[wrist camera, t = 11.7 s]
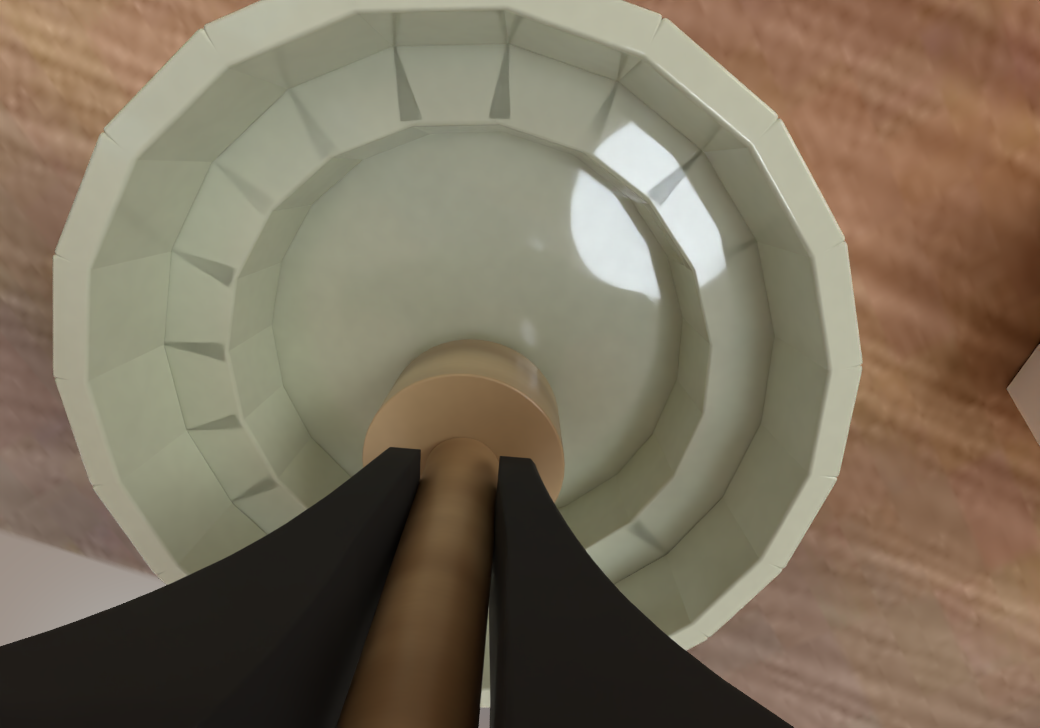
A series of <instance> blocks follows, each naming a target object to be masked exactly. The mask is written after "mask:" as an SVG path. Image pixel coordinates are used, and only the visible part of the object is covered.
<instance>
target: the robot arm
mask: <svg viewBox="0 0 1040 728" xmlns="http://www.w3.org/2000/svg"><path fill="white" fill-rule="evenodd" d="M420 461H421V449H410V448H398V447H389V448H388V449H387V450H385V451H384V452H383V453H381V454H380V455H379V456H377V457H376V458H375V459H374V460H372V461H371V462H370V463H369V464H367V465H366V466H365V467H364V468H362V469H361V470H360V471H359V472H357V473H356V474H355V475H353V476H352V477H351V478H350V479H348V480H347V481H346V482H344V483H343V484H342V485H340V486H339V487H338V488H336V489H335V490H334V491H332V492H331V493H330V494H329V495H327V496H326V497H324V498H323V499H321V500H320V501H318V502H317V503H315V504H314V505H313V506H311V507H310V508H308V509H307V510H305V511H304V512H302V513H301V514H299V515H298V516H296V517H295V518H293V519H292V520H290V521H289V522H287V523H286V524H284V525H283V526H281V527H279V528H278V529H276V530H274V531H273V532H271V533H269V534H268V535H266V536H264V537H263V538H261V539H259V540H257V541H255V542H254V543H252V544H250V545H248V546H246V547H244V548H243V549H241V550H239V551H237V552H235V553H234V554H232V555H230V556H228V557H226V558H224V559H222V560H220V561H218V562H216V563H213V564H211V565H209V566H207V567H205V568H203V569H201V570H198V571H196V572H194V573H192V574H190V575H188V576H186V577H183V578H181V579H179V580H177V581H175V582H173V583H171V584H169V585H166V586H164V587H162V588H160V589H157V590H155V591H153V592H150V593H148V594H146V595H143V596H141V597H138V598H136V599H133V600H131V601H128V602H126V603H123V604H121V605H118V606H116V607H113V608H110V609H108V610H105V611H102V612H100V613H97V614H94V615H92V616H89V617H86V618H84V619H81V620H78V621H76V622H73V623H70V624H67V625H64V626H62V627H59V628H56V629H53V630H50V631H47V632H44V633H41V634H38V635H35V636H31V637H28V638H25V639H22V640H19V641H16V642H13V643H10V644H6V645H3V646H0V728H336V725H337V722H338V719H339V717H340V714H341V711H342V708H343V705H344V702H345V699H346V696H347V693H348V690H349V687H350V684H351V681H352V678H353V675H354V673H355V670H356V667H357V664H358V661H359V658H360V655H361V652H362V649H363V646H364V643H365V640H366V637H367V634H368V632H369V629H370V626H371V623H372V620H373V617H374V614H375V611H376V608H377V605H378V602H379V599H380V596H381V593H382V590H383V588H384V585H385V582H386V579H387V576H388V573H389V570H390V567H391V564H392V561H393V558H394V555H395V552H396V549H397V546H398V544H399V541H400V538H401V535H402V532H403V529H404V526H405V523H406V520H407V518H408V515H409V512H410V509H411V506H412V503H413V500H414V497H415V494H416V491H417V489H418V486H419V483H420ZM489 657H490V728H794V727H793V726H791V725H790V724H788V723H787V722H785V721H784V720H782V719H781V718H779V717H778V716H777V715H775V714H774V713H772V712H771V711H769V710H768V709H766V708H765V707H763V706H762V705H760V704H759V703H757V702H756V701H754V700H753V699H751V698H750V697H748V696H747V695H746V694H744V693H743V692H741V691H740V690H738V689H737V688H735V687H734V686H732V685H731V684H729V683H728V682H726V681H725V680H723V679H722V678H721V677H719V676H718V675H717V674H715V673H714V672H713V671H711V670H710V669H709V668H708V667H706V666H705V665H704V664H702V663H701V662H700V661H699V660H697V659H696V658H695V657H693V656H692V655H691V654H690V653H688V652H687V651H686V650H684V649H683V648H682V647H681V646H679V645H678V644H677V643H676V642H675V641H674V640H672V639H671V638H670V637H669V636H668V635H666V634H665V633H664V632H663V631H662V630H661V629H659V628H658V627H657V626H656V625H655V624H654V623H653V622H652V621H651V620H650V619H649V618H648V617H646V616H645V615H644V614H643V613H642V612H641V611H640V610H639V609H638V608H637V607H636V606H635V605H634V604H632V603H631V602H630V601H629V600H628V599H627V598H626V597H625V596H624V595H623V594H622V593H621V592H620V591H619V589H618V588H617V587H616V586H615V585H614V584H613V583H612V582H611V580H610V579H609V578H608V577H607V576H606V575H605V574H604V573H603V571H602V570H601V569H600V568H599V566H598V565H597V564H596V563H595V562H594V560H593V559H592V558H591V556H590V555H589V554H588V553H587V551H586V550H585V549H584V547H583V546H582V544H581V543H580V542H579V540H578V539H577V538H576V536H575V535H574V533H573V532H572V530H571V529H570V527H569V526H568V524H567V523H566V521H565V520H564V518H563V516H562V515H561V513H560V512H559V510H558V508H557V507H556V505H555V503H554V502H553V500H552V498H551V496H550V495H549V493H548V491H547V489H546V487H545V485H544V483H543V481H542V479H541V477H540V475H539V472H538V470H537V468H536V465H535V463H534V462H533V461H532V460H531V458H521V457H509V456H500V458H499V469H498V481H497V493H496V504H495V516H494V550H493V561H492V573H491V585H490V597H489Z"/></svg>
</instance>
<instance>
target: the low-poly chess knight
mask: <svg viewBox="0 0 1040 728" xmlns="http://www.w3.org/2000/svg"><path fill="white" fill-rule="evenodd" d="M1007 391H1008V392H1009V394H1010V396H1011V398H1012V399H1013V401H1014V403H1015V405H1016V406H1017V408H1018V410H1019V411H1020V413H1021V415H1022V417H1023V418H1024V420H1025V422H1026V424H1027V425H1028V427H1029V429H1030V430H1031V432H1032V434H1033V436H1034V437H1035V439H1036V441H1037V443H1038V444H1039V446H1040V344H1039V345H1038V346H1037V348H1036V349H1035V350H1034V352H1033V353H1032V355H1031V356H1030V357H1029V359H1028V360H1027V361H1026V363H1025V364H1024V366H1023V367H1022V368H1021V370H1020V371H1019V372H1018V374H1017V375H1016V377H1015V378H1014V379H1013V381H1012V382H1011V383H1010V385H1009V386H1008V387H1007Z"/></svg>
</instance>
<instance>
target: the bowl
mask: <svg viewBox="0 0 1040 728" xmlns="http://www.w3.org/2000/svg"><path fill="white" fill-rule="evenodd" d="M777 118H778V115H777V113H776V112H775V111H774V110H773V109H771V108H770V107H769V106H768V105H767V104H766V103H765V102H763V101H762V100H761V99H760V98H759V97H758V96H756V95H755V94H754V93H753V92H752V91H751V90H750V89H748V88H747V87H746V86H745V85H744V84H743V83H742V82H740V81H739V80H738V79H737V78H736V77H735V76H733V75H732V74H731V73H730V72H729V71H728V70H727V69H725V68H724V67H723V66H722V65H721V64H720V63H718V62H717V61H716V60H715V59H714V58H713V57H712V56H710V55H709V54H708V53H707V52H706V51H705V50H703V49H702V48H701V47H700V46H699V45H698V44H697V43H695V42H694V41H693V40H692V39H691V38H690V37H689V36H687V35H686V34H685V33H684V32H683V31H682V30H680V29H679V28H678V27H677V26H676V25H675V24H674V23H672V22H671V21H670V20H669V19H668V18H663V19H662V16H661V15H660V14H659V13H657V12H654V11H651V10H649V9H646V8H643V7H640V6H638V5H635V4H632V3H629V2H627V1H624V0H260V1H258V2H256V3H253V4H251V5H249V6H246V7H244V8H242V9H240V10H237V11H235V12H233V13H230V14H228V15H226V16H223V17H221V18H219V19H217V20H214V21H212V22H210V23H207V24H205V25H204V29H203V28H201V29H199V30H197V31H196V32H195V33H194V35H193V36H192V37H191V38H190V39H189V40H188V41H187V42H186V43H185V44H184V45H183V46H182V47H181V48H180V49H179V50H178V51H177V52H176V53H175V54H174V55H173V56H172V57H171V59H170V60H169V61H168V62H167V63H166V64H165V65H164V66H163V67H162V68H161V69H160V70H159V71H158V72H157V73H156V74H155V75H154V76H153V77H152V78H151V79H150V80H149V82H148V83H147V84H146V85H145V86H144V87H143V88H142V89H141V90H140V91H139V92H138V93H137V94H136V95H135V96H134V97H133V98H132V99H131V100H130V101H129V102H128V103H127V104H126V106H125V107H124V108H123V109H122V110H121V111H120V112H119V113H118V114H117V115H116V116H115V117H114V118H113V119H112V120H111V121H110V122H109V123H108V124H107V125H106V126H105V127H104V132H103V133H101V134H100V135H99V138H98V140H97V143H96V146H95V148H94V151H93V153H92V156H91V159H90V161H89V164H88V166H87V169H86V171H85V174H84V177H83V179H82V182H81V184H80V187H79V190H78V192H77V195H76V197H75V200H74V202H73V205H72V208H71V210H70V213H69V215H68V218H67V220H66V223H65V226H64V228H63V231H62V233H61V236H60V239H59V241H58V244H57V246H56V249H55V255H54V256H53V376H54V377H56V378H55V383H56V386H57V389H58V392H59V395H60V398H61V400H62V403H63V406H64V409H65V412H66V415H67V418H68V421H69V424H70V426H71V429H72V432H73V435H74V438H75V441H76V444H77V447H78V450H79V452H80V455H81V458H82V461H83V464H84V467H85V470H86V473H87V476H88V479H89V481H90V484H91V485H93V490H94V491H95V493H96V494H97V495H98V497H99V498H100V500H101V501H102V502H103V504H104V505H105V507H106V508H107V509H108V511H109V512H110V513H111V515H112V516H113V518H114V519H115V520H116V522H117V523H118V525H119V526H120V527H121V529H122V530H123V531H124V533H125V534H126V536H127V537H128V538H129V540H130V541H131V543H132V544H133V545H134V547H135V548H136V549H137V551H138V552H139V554H140V555H141V556H142V558H143V559H144V560H145V562H146V563H147V565H148V566H149V567H150V569H151V570H152V572H153V573H154V574H158V575H157V577H158V578H159V579H160V580H161V581H163V582H164V583H165V584H166V585H169V584H171V583H173V582H175V581H177V580H179V579H181V578H183V577H186V576H188V575H190V574H192V573H194V572H196V571H198V570H201V569H203V568H205V567H207V566H209V565H211V564H213V563H216V562H218V561H220V560H222V559H224V558H226V557H228V556H230V555H232V554H234V553H235V552H237V551H239V550H241V549H243V548H244V547H246V546H248V545H250V544H252V543H254V542H255V541H257V540H259V539H261V538H263V537H264V536H266V535H268V534H269V533H271V532H273V531H274V530H276V529H278V528H279V527H281V526H283V525H284V524H286V523H287V522H289V521H290V520H292V519H293V518H295V517H296V516H298V515H299V514H301V513H302V512H304V511H305V510H307V509H308V508H310V507H311V506H313V505H314V504H315V503H317V502H318V501H320V500H321V499H323V498H324V497H326V496H327V495H329V494H330V493H331V492H332V491H334V490H335V489H336V488H338V487H339V486H340V485H342V484H343V483H344V482H346V481H347V480H348V479H350V478H351V477H352V476H353V475H355V474H356V473H357V472H359V471H360V470H361V469H362V468H363V462H362V454H363V445H364V440H365V436H366V433H367V430H368V428H369V425H370V423H371V421H372V420H373V418H374V416H375V414H376V413H377V411H378V410H379V408H380V406H381V405H382V403H383V401H384V400H385V398H386V397H387V395H388V393H389V392H390V390H391V388H392V387H393V385H394V384H395V382H396V380H397V379H398V377H399V375H400V374H401V373H402V371H403V370H404V369H405V368H406V366H407V365H408V364H409V363H410V362H411V361H413V360H414V359H415V358H416V357H417V356H419V355H420V354H422V353H423V352H425V351H427V350H429V349H430V348H432V347H435V346H437V345H440V344H443V343H446V342H450V341H455V340H464V339H478V340H485V341H491V342H495V343H498V344H502V345H504V346H506V347H509V348H511V349H513V350H515V351H517V352H518V353H520V354H522V355H523V356H525V357H526V358H527V359H529V360H530V361H531V362H532V363H533V364H534V365H535V366H536V367H537V368H538V369H539V370H540V371H541V372H542V374H543V375H544V376H545V378H546V379H547V381H548V383H549V384H550V386H551V388H552V390H553V393H554V395H555V398H556V402H557V407H558V413H559V421H560V428H561V436H562V443H563V450H564V460H565V470H564V479H563V483H562V488H561V490H560V493H559V496H558V498H557V500H556V502H555V505H556V507H557V508H558V510H559V512H560V513H561V515H562V516H563V518H564V520H565V521H566V523H567V524H568V526H569V527H570V529H571V530H572V532H573V533H574V535H575V536H576V538H577V539H578V540H579V542H580V543H581V544H582V546H583V547H584V549H585V550H586V551H587V553H588V554H589V555H590V556H591V558H592V559H593V560H594V562H595V563H596V564H597V565H598V566H599V568H600V569H601V570H602V571H603V573H604V574H605V575H606V576H607V577H608V578H609V579H610V580H611V582H612V583H613V584H614V585H615V586H616V587H617V588H618V589H619V591H620V592H621V593H622V594H623V595H624V596H625V597H626V598H627V599H628V600H629V601H630V602H631V603H632V604H634V605H635V606H636V607H637V608H638V609H639V610H640V611H641V612H642V613H643V614H644V615H645V616H646V617H648V618H649V619H650V620H651V621H652V622H653V623H654V624H655V625H656V626H657V627H658V628H659V629H661V630H662V631H663V632H664V633H665V634H666V635H668V636H669V637H670V638H671V639H672V640H674V641H675V642H676V643H677V644H678V645H679V646H681V647H682V648H683V649H684V650H686V651H687V650H688V649H690V648H692V647H694V646H696V645H698V644H700V643H702V642H704V641H706V640H707V639H708V637H711V636H712V635H713V634H714V633H716V632H717V631H718V630H719V629H720V628H721V627H722V626H723V625H724V624H725V623H726V622H727V621H729V620H730V619H731V618H732V617H733V616H734V615H735V614H736V613H737V612H738V611H739V610H741V609H742V608H743V607H744V606H745V605H746V604H747V603H748V602H749V601H750V600H751V599H753V598H754V597H755V596H756V595H757V594H758V593H759V592H760V591H761V590H762V589H763V588H765V587H766V586H767V585H768V584H769V583H770V582H771V581H772V580H773V579H774V578H775V577H777V576H778V575H779V574H780V573H781V572H782V568H785V567H786V565H787V564H788V562H789V560H790V559H791V557H792V555H793V554H794V552H795V550H796V548H797V547H798V545H799V543H800V542H801V540H802V538H803V537H804V535H805V533H806V532H807V530H808V528H809V527H810V525H811V523H812V522H813V520H814V518H815V517H816V515H817V513H818V511H819V510H820V508H821V506H822V505H823V503H824V501H825V500H826V498H827V496H828V495H829V493H830V491H831V490H832V488H833V486H834V485H835V483H836V481H837V476H839V473H840V469H841V464H842V460H843V455H844V450H845V446H846V441H847V437H848V432H849V428H850V423H851V418H852V414H853V409H854V405H855V400H856V396H857V391H858V386H859V382H860V377H861V373H862V366H861V364H862V362H863V361H862V354H861V346H860V339H859V331H858V323H857V316H856V308H855V301H854V293H853V285H852V278H851V270H850V263H849V255H848V247H847V244H846V242H845V241H844V240H845V237H844V235H843V233H842V231H841V229H840V227H839V225H838V223H837V222H836V220H835V218H834V216H833V214H832V212H831V210H830V208H829V207H828V205H827V203H826V201H825V199H824V197H823V195H822V194H821V192H820V190H819V188H818V186H817V184H816V182H815V180H814V179H813V177H812V175H811V173H810V171H809V169H808V167H807V165H806V164H805V162H804V160H803V158H802V156H801V154H800V152H799V150H798V149H797V147H796V145H795V143H794V141H793V139H792V137H791V136H790V134H789V132H788V130H787V128H786V126H785V124H784V122H783V121H782V120H781V119H780V118H778V119H777ZM480 708H490V657H489V608H488V620H487V632H486V644H485V655H484V667H483V679H482V691H481V702H480Z"/></svg>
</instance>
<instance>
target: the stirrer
mask: <svg viewBox="0 0 1040 728" xmlns="http://www.w3.org/2000/svg"><path fill="white" fill-rule="evenodd" d="M389 447H398V448H410V449H421V461H420V483H419V486H418V489H417V491H416V494H415V497H414V500H413V503H412V506H411V509H410V512H409V515H408V518H407V520H406V523H405V526H404V529H403V532H402V535H401V538H400V541H399V544H398V546H397V549H396V552H395V555H394V558H393V561H392V564H391V567H390V570H389V573H388V576H387V579H386V582H385V585H384V588H383V590H382V593H381V596H380V599H379V602H378V605H377V608H376V611H375V614H374V617H373V620H372V623H371V626H370V629H369V632H368V634H367V637H366V640H365V643H364V646H363V649H362V652H361V655H360V658H359V661H358V664H357V667H356V670H355V673H354V675H353V678H352V681H351V684H350V687H349V690H348V693H347V696H346V699H345V702H344V705H343V708H342V711H341V714H340V717H339V719H338V722H337V725H336V728H478V726H479V714H480V702H481V691H482V679H483V667H484V655H485V644H486V632H487V620H488V608H489V597H490V585H491V573H492V561H493V550H494V516H495V504H496V493H497V481H498V469H499V458H500V456H509V457H521V458H531V460H532V461H533V462H534V463H535V465H536V468H537V470H538V472H539V475H540V477H541V479H542V481H543V483H544V485H545V487H546V489H547V491H548V493H549V495H550V496H551V498H552V500H553V502H554V503H555V502H556V500H557V498H558V496H559V493H560V490H561V488H562V483H563V479H564V470H565V460H564V450H563V443H562V436H561V428H560V421H559V413H558V407H557V402H556V398H555V395H554V393H553V390H552V388H551V386H550V384H549V383H548V381H547V379H546V378H545V376H544V375H543V374H542V372H541V371H540V370H539V369H538V368H537V367H536V366H535V365H534V364H533V363H532V362H531V361H530V360H529V359H527V358H526V357H525V356H523V355H522V354H520V353H518V352H517V351H515V350H513V349H511V348H509V347H506V346H504V345H502V344H498V343H495V342H491V341H485V340H478V339H464V340H455V341H450V342H446V343H443V344H440V345H437V346H435V347H432V348H430V349H429V350H427V351H425V352H423V353H422V354H420V355H419V356H417V357H416V358H415V359H414V360H413V361H411V362H410V363H409V364H408V365H407V366H406V368H405V369H404V370H403V371H402V373H401V374H400V375H399V377H398V379H397V380H396V382H395V384H394V385H393V387H392V388H391V390H390V392H389V393H388V395H387V397H386V398H385V400H384V401H383V403H382V405H381V406H380V408H379V410H378V411H377V413H376V414H375V416H374V418H373V420H372V421H371V423H370V425H369V428H368V430H367V433H366V436H365V440H364V445H363V454H362V462H363V468H364V467H365V466H366V465H367V464H369V463H370V462H371V461H372V460H374V459H375V458H376V457H377V456H379V455H380V454H381V453H383V452H384V451H385V450H387V449H388V448H389Z"/></svg>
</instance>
